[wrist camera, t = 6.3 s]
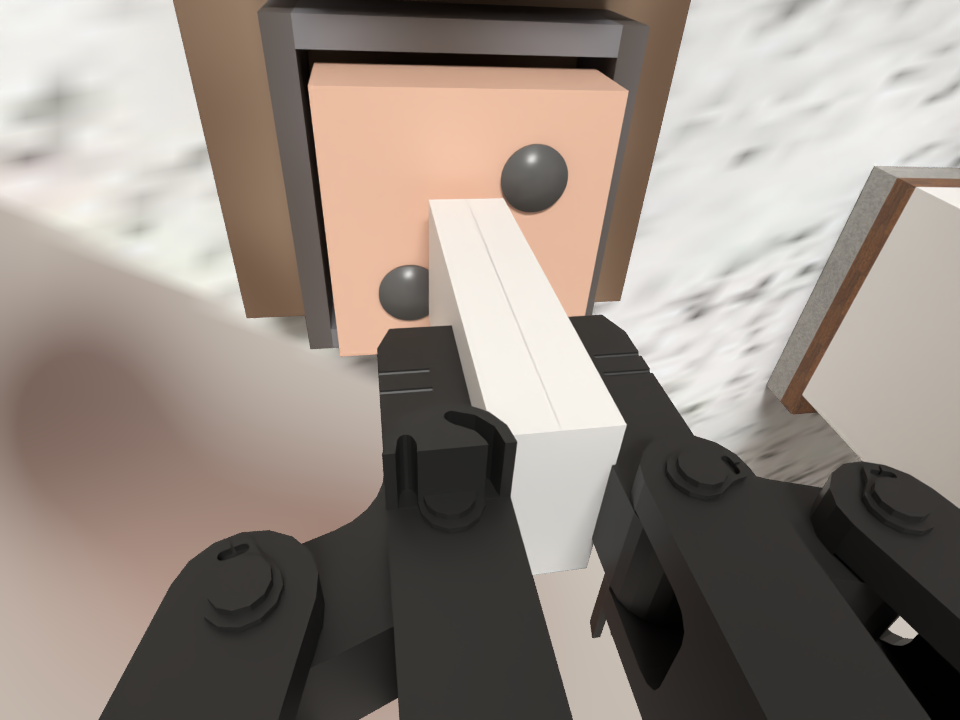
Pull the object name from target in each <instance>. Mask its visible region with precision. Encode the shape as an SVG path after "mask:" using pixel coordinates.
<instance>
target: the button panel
mask: <svg viewBox="0 0 960 720" xmlns="http://www.w3.org/2000/svg"><path fill="white" fill-rule="evenodd" d="M690 2H691V0H173V3H174V7H175V11H176V16H177V20H178V24H179V28H180V33H181V37H182V41H183V46H184V50H185V54H186V59H187V63H188V67H189V71H190V76H191V80H192V84H193V89H194V93H195V97H196V102H197V106H198V110H199V115H200V119H201V123H202V127H203V132H204V136H205V140H206V145H207V149H208V153H209V158H210V162H211V166H212V170H213V175H214V179H215V183H216V188H217V192H218V196H219V201H220V205H221V209H222V213H223V218H224V222H225V226H226V231H227V235H228V239H229V244H230V248H231V252H232V256H233V261H234V265H235V269H236V274H237V278H238V282H239V287H240V291H241V295H242V299H243V304H244V308H245V312H246V317H247V318H262V317H283V316H305V318H306V324H307V330H308V337H309V343H310V349H322V348H339V341H338V333H337V325H336V316H335V308H334V299H333V291H332V283H331V274H330V266H329V258H328V249H327V241H326V233H325V224H324V216H323V208H322V199H321V191H320V183H319V174H318V166H317V158H316V149H315V141H314V133H313V124H312V116H311V108H310V99H309V91H308V83H309V80H310V76H311V72H312V69H313V65H314V62H327V63H369V64H412V65H455V66H497V67H540V68H583V69H596V70H598V71H599V72H601V73H602V74H604V75H605V76H607V77H608V78H610V79H611V80H613V81H614V82H616V83H617V84H619V85H620V86H622V87H623V88H625V89H626V90H628V91H629V92H628V98H627V103H626V108H625V113H624V118H623V123H622V128H621V133H620V138H619V144H618V149H617V154H616V159H615V164H614V169H613V174H612V179H611V185H610V190H609V195H608V200H607V205H606V210H605V215H604V220H603V226H602V231H601V236H600V241H599V246H598V251H597V256H596V261H595V267H594V272H593V277H592V282H591V287H590V292H589V297H588V302H587V308H586V313H585V316H590V315H592V311H593V306H594V302H606V301H620V299H621V295H622V291H623V286H624V282H625V278H626V274H627V269H628V265H629V261H630V257H631V252H632V248H633V244H634V240H635V235H636V231H637V227H638V223H639V218H640V214H641V210H642V206H643V201H644V197H645V193H646V189H647V184H648V180H649V176H650V172H651V167H652V163H653V159H654V155H655V150H656V146H657V142H658V138H659V133H660V129H661V125H662V121H663V116H664V112H665V108H666V104H667V99H668V95H669V91H670V87H671V82H672V78H673V74H674V70H675V65H676V61H677V57H678V53H679V48H680V44H681V40H682V36H683V31H684V27H685V23H686V19H687V14H688V10H689V6H690Z"/></svg>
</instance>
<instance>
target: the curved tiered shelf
mask: <svg viewBox="0 0 960 720" xmlns="http://www.w3.org/2000/svg"><path fill="white" fill-rule="evenodd" d="M767 386H768V388H769V389H770V390H771V391H772V392H773V393H774V394H775V396H776V397H777V398H778V399H779V400H780V401H781V403H782V404H783V405H784V406H785V407H786V408H787V410H788V411H789V412H790V413H791V414H802V413H817V412H818V413H819V414H820V415H821V416H822V417H823V418H824V419H825V420H826V422H827V423H828V424H829V425H830V426H831V427H832V428H833V429H834V430H835V431H836V432H837V434H838V435H839V436H840V437H841V438H842V439H843V440H844V441H845V442H846V443H847V444H848V446H849V447H850V448H851V449H852V450H853V451H854V452H855V453H856V454H857V455H858V456H859V458H860V459H861V460H862V461H863V462H869V463H876V464H882V465H886V466H889V467H892V468H894V469H897V470H900V471H902V472H905V473H907V474H910V475H912V476H913V477H915V478H916V479H918V480H920V481H921V482H923V483H925V484H926V485H928V486H929V487H931V488H933V489H934V490H935V491H937V492H938V493H939V494H941V495H942V496H943V497H945V498H946V499H947V500H949V501H950V502H951V503H953V504H954V505H955V506H957V507H958V508H959V509H960V168H929V167H882V166H874V168H873V170H872V172H871V174H870V176H869V178H868V181H867V183H866V185H865V187H864V189H863V191H862V193H861V195H860V197H859V199H858V201H857V203H856V205H855V207H854V209H853V211H852V213H851V215H850V217H849V219H848V221H847V223H846V225H845V227H844V229H843V231H842V233H841V235H840V237H839V239H838V241H837V243H836V245H835V248H834V250H833V252H832V254H831V256H830V258H829V260H828V262H827V264H826V266H825V268H824V270H823V272H822V274H821V276H820V278H819V280H818V282H817V284H816V286H815V288H814V290H813V292H812V294H811V296H810V298H809V300H808V302H807V304H806V306H805V308H804V310H803V312H802V315H801V317H800V319H799V321H798V323H797V325H796V327H795V329H794V331H793V333H792V335H791V337H790V339H789V341H788V343H787V345H786V347H785V349H784V351H783V353H782V355H781V357H780V359H779V361H778V363H777V365H776V367H775V369H774V371H773V373H772V375H771V377H770V379H769V381H768V384H767Z"/></svg>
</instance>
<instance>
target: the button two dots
mask: <svg viewBox="0 0 960 720" xmlns="http://www.w3.org/2000/svg"><path fill="white" fill-rule="evenodd" d="M308 91H309V99H310V108H311V116H312V124H313V133H314V141H315V149H316V158H317V166H318V174H319V183H320V191H321V199H322V208H323V216H324V224H325V233H326V241H327V249H328V258H329V266H330V274H331V283H332V291H333V299H334V308H335V316H336V325H337V333H338V341H339V350H340V356H357V355H374V354H377V348H378V346H379V345H380V343H381V341H382V340H383V338H384V336H385V335H386V333H387V331H388V330H389V329H394V328H412V327H430V326H431V325H430V320H429V200H435V199H490V198H504V200H505V202H506V204H507V206H508V207H509V209H510V211H511V213H512V215H513V217H514V218H515V220H516V222H517V224H518V226H519V228H520V230H521V231H522V233H523V235H524V237H525V239H526V241H527V242H528V244H529V246H530V248H531V250H532V252H533V253H534V255H535V257H536V259H537V261H538V263H539V264H540V266H541V268H542V270H543V272H544V274H545V276H546V277H547V279H548V281H549V283H550V285H551V287H552V288H553V290H554V292H555V294H556V296H557V298H558V299H559V301H560V303H561V305H562V307H563V309H564V311H565V312H566V314H567V316H568V317H571V316H585V313H586V308H587V302H588V297H589V292H590V287H591V282H592V277H593V272H594V267H595V261H596V256H597V251H598V246H599V241H600V236H601V231H602V226H603V220H604V215H605V210H606V205H607V200H608V195H609V190H610V185H611V179H612V174H613V169H614V164H615V159H616V154H617V149H618V144H619V138H620V133H621V128H622V123H623V118H624V113H625V108H626V103H627V98H628V92H629V91H628V90H626V89H625V88H623V87H622V86H620V85H619V84H617V83H616V82H614V81H613V80H611V79H610V78H608V77H607V76H605V75H604V74H602V73H601V72H599V71H598V70H596V69H583V68H540V67H497V66H455V65H412V64H369V63H327V62H314V65H313V69H312V72H311V76H310V80H309V83H308Z"/></svg>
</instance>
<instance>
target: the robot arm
mask: <svg viewBox="0 0 960 720" xmlns="http://www.w3.org/2000/svg"><path fill="white" fill-rule="evenodd" d="M429 320H430V325H431V326H430V327H412V328H394V329H389V330H388V331H387V333H386V335H385V336H384V338H383V340H382V341H381V343H380V345H379V346H378V348H377V358H378V375H379V391H380V408H381V424H382V440H383V453H382V457H383V458H382V459H383V472H384V478H383V484H382V486H381V488H380V491H379V493H378V495H377V497H376V499H375V500H374V501H373V502H372V504H371V505H370V506H369V507H368V509H367V510H366V511H364V512H363V513H362V514H361V515H360V516H359V517H357V518H356V519H355V520H353V521H352V522H350V523H348V524H346V525H344V526H342V527H340V528H339V529H337V530H335V531H332V532H330V533H327V534H325V535H322V536H320V537H318V538H315V539H312V540H310V541H308V542H305V543H303V544H301V543H300V542H298V541H297V540H296V539H295V538H294V537H292V536H288V535H285V534H281V533H277V532H274V531H270V530H267V531H253V532H242V533H239V534H236V535H234V536H231V537H228V538H226V539H223V540H221V541H218V542H216V543H214V544H212V545H211V546H209V547H208V548H207V549H205V550H204V551H202V552H201V553H200V554H198V555H197V556H196V557H194V558H193V559H192V560H190V561H189V562H188V563H187V565H186V566H185V567H184V569H183V570H182V571H181V573H180V574H179V575H178V577H177V578H176V579H175V580H174V582H173V583H172V584H171V586H170V588H169V589H168V591H167V593H166V595H165V597H164V599H163V601H162V602H161V604H160V606H159V608H158V610H157V612H156V614H155V615H154V617H153V619H152V621H151V623H150V625H149V627H148V628H147V631H146V632H145V634H144V636H143V638H142V640H141V642H140V644H139V645H138V647H137V649H136V651H135V653H134V655H133V656H132V659H131V660H130V662H129V664H128V666H127V668H126V669H125V671H124V673H123V675H122V677H121V679H120V681H119V683H118V684H117V686H116V688H115V690H114V692H113V694H112V695H111V697H110V699H109V701H108V703H107V705H106V707H105V709H104V710H103V712H102V714H101V716H100V718H99V720H359V719H361V718H363V717H364V716H366V715H368V714H370V713H371V712H373V711H375V710H377V709H379V708H381V707H382V706H384V705H386V704H388V703H390V702H391V701H393V700H395V699H397V698H398V703H399V719H400V720H573V719H572V715H571V711H570V707H569V704H568V700H567V697H566V693H565V689H564V686H563V682H562V679H561V675H560V672H559V669H558V664H557V661H556V657H555V654H554V650H553V647H552V643H551V639H550V636H549V632H548V629H547V625H546V621H545V618H544V614H543V611H542V607H541V604H540V600H539V596H538V593H537V589H536V586H535V582H534V579H533V575H537V574H545V573H552V572H560V571H568V570H574V569H582V568H587V564H588V561H589V557H590V554H591V550H592V547H593V543H594V546H595V548H596V551H597V553H598V556H599V559H600V561H601V564H602V566H603V569H604V571H605V575H604V578H603V581H602V584H601V588H600V591H599V594H598V597H597V600H596V603H595V607H594V610H593V613H592V616H591V620H590V625H591V632H592V638H596V637H600V635H601V633H602V630H603V627H604V624H605V621H606V620H607V622H608V625H609V628H610V631H611V635H612V637H613V639H614V642H615V645H616V648H617V650H618V653H619V656H620V659H621V662H622V664H623V667H624V670H625V673H626V675H627V678H628V681H629V683H630V686H631V689H632V692H633V695H634V698H635V700H636V703H637V706H638V709H639V711H640V714H641V717H642V720H960V509H959V508H958V507H957V506H955V505H954V504H953V503H951V502H950V501H949V500H947V499H946V498H945V497H943V496H942V495H941V494H939V493H938V492H937V491H935V490H934V489H933V488H931V487H929V486H928V485H926V484H925V483H923V482H921V481H920V480H918V479H916V478H915V477H913V476H912V475H910V474H907V473H905V472H902V471H900V470H897V469H894V468H892V467H889V466H886V465H882V464H876V463H869V462H863V461H861V462H854V463H847V464H843V465H842V466H840V467H839V468H838V469H837V470H835V471H834V472H833V473H832V474H831V476H830V477H829V479H828V481H827V482H826V484H825V485H824V487H823V488H819V487H813V486H807V485H801V484H794V483H788V482H782V481H776V480H769V479H765V478H761V477H756V476H755V474H754V473H753V472H752V470H751V469H750V468H749V467H748V466H747V465H746V464H745V463H744V462H743V461H742V460H741V459H740V458H739V457H738V456H737V455H736V454H734V453H733V452H731V451H729V450H728V449H726V448H724V447H723V446H721V445H719V444H718V443H716V442H712V441H709V440H706V439H703V438H700V437H696V436H694V435H693V433H692V432H691V430H690V429H689V427H688V426H687V424H686V423H685V421H684V420H683V418H682V417H681V415H680V414H679V412H678V411H677V409H676V408H675V406H674V405H673V403H672V402H671V400H670V399H669V397H668V396H667V394H666V393H665V391H664V390H663V388H662V387H661V385H660V383H659V382H658V380H657V379H656V377H655V376H654V374H653V373H650V371H649V370H650V368H649V367H648V365H647V364H646V362H645V361H644V359H643V358H642V356H639V355H638V350H637V349H636V347H635V346H634V344H633V343H632V341H631V340H630V338H629V337H628V335H627V334H626V332H625V331H624V330H622V329H621V328H619V327H618V326H617V325H615V324H614V323H613V322H611V321H610V320H608V319H607V318H606V317H604V316H603V315H590V316H571V317H568V316H567V314H566V312H565V311H564V309H563V307H562V305H561V303H560V301H559V299H558V298H557V296H556V294H555V292H554V290H553V288H552V287H551V285H550V283H549V281H548V279H547V277H546V276H545V274H544V272H543V270H542V268H541V266H540V264H539V263H538V261H537V259H536V257H535V255H534V253H533V252H532V250H531V248H530V246H529V244H528V242H527V241H526V239H525V237H524V235H523V233H522V231H521V230H520V228H519V226H518V224H517V222H516V220H515V218H514V217H513V215H512V213H511V211H510V209H509V207H508V206H507V204H506V202H505V200H504V198H490V199H435V200H429ZM899 616H901V617H902V618H903V619H904V620H905V621H906V622H907V623H908V624H909V625H910V626H911V627H912V628H913V629H914V630H915V631H917V632H918V633H919V634H918V635H917V636H916V637H915V638H914V639H908V638H902V637H900V636H898V635H896V634H894V633H892V632H891V631H889V630H888V628H889V627H890V626H891V625H892V624H893V623H894V622H895V621H896V620H897V619H898V618H899Z"/></svg>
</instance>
